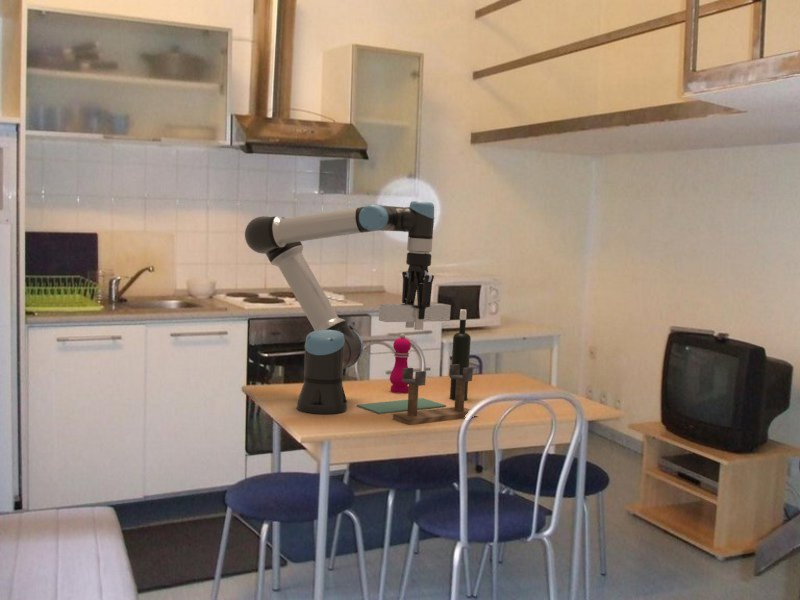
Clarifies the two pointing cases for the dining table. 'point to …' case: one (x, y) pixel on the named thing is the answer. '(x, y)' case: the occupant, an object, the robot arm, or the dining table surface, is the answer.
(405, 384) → the pepper mill
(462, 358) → the wine bottle
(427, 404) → the mat
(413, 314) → the rail
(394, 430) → the dining table surface
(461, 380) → the hook stand
